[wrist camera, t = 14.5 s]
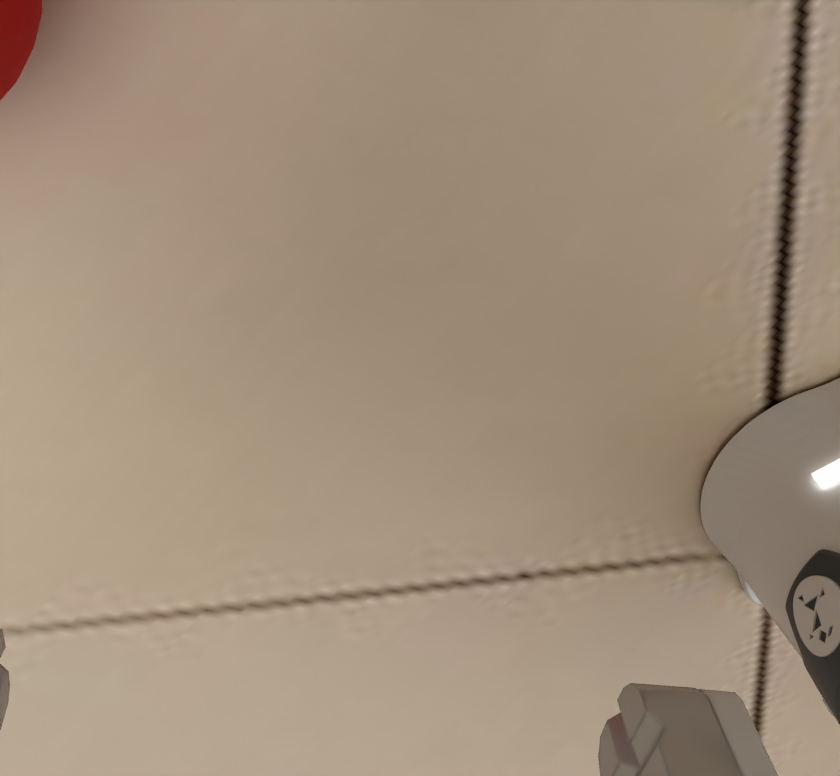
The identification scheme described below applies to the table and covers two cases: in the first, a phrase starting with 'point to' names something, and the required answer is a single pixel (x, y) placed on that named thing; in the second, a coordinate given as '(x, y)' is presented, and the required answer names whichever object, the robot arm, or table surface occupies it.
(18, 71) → the ceramic cup
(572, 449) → the table surface
